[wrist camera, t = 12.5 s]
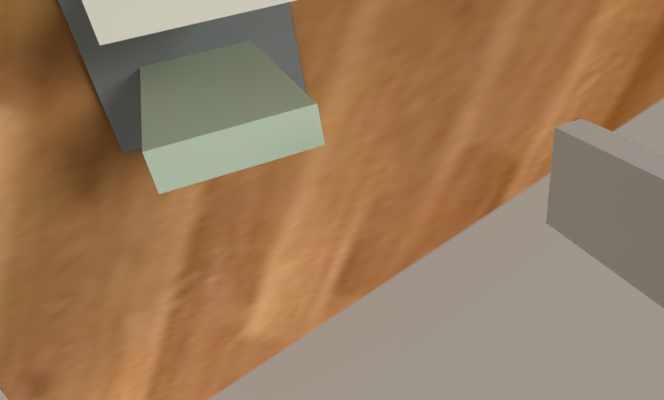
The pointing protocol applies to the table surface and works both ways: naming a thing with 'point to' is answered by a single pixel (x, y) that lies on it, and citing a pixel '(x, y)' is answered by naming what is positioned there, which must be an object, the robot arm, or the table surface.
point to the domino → (159, 15)
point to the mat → (173, 56)
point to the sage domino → (221, 115)
